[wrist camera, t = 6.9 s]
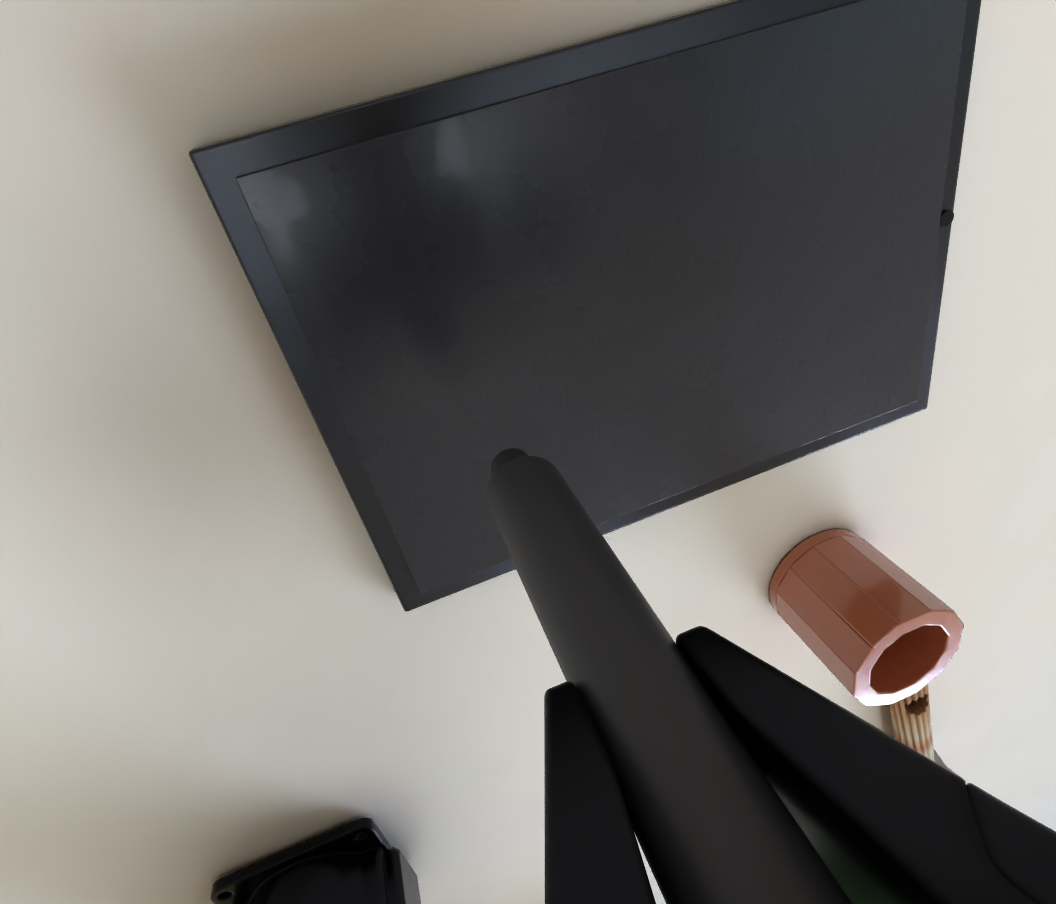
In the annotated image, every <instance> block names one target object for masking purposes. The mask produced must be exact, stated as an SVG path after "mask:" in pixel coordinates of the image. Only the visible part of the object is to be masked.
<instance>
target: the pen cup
mask: <svg viewBox="0 0 1056 904" xmlns="http://www.w3.org/2000/svg"><path fill="white" fill-rule="evenodd" d="M769 597H770V601H771V604H772V606H773V607H774V609H775V610H776V611H777V613H778V614H779V615H780V616H781V617H782V619H783V620H784V621H785V622H786V623H787V624H788V625H789V626H790V627H791V628H792V629H793V631H794V632H795V633H796V634H797V635H798V636H799V637H800V638H801V639H802V640H803V642H804V643H805V644H806V645H807V646H808V647H809V648H810V649H811V650H812V651H813V652H814V654H815V655H816V656H817V657H818V658H819V659H820V660H821V661H822V662H823V663H824V665H825V666H826V667H827V668H828V669H829V670H830V671H831V672H832V673H833V674H834V675H835V677H836V678H837V679H838V680H839V681H840V682H841V683H842V684H843V685H844V686H845V688H846V689H847V690H848V691H849V692H850V693H851V694H852V695H853V696H854V697H855V698H856V699H857V700H859V701H860V702H861V703H862V704H863V705H864V706H879V705H890V704H893V703H895V702H897V701H899V700H901V699H903V698H906V697H908V696H910V695H912V694H914V693H916V692H918V691H919V690H920V689H921V688H923V687H924V686H925V685H926V684H927V683H929V682H930V681H931V680H932V679H934V678H935V677H936V676H937V675H938V674H940V673H941V671H943V670H944V668H945V667H946V665H947V664H948V663H949V661H950V660H951V658H952V657H953V656H954V654H955V653H956V651H957V650H958V649H959V646H960V642H961V637H962V633H963V628H964V624H963V622H962V621H961V620H960V618H959V617H958V616H957V614H956V613H955V612H954V610H952V609H951V608H950V607H949V606H947V605H946V604H945V603H944V602H942V601H941V600H940V599H939V598H937V597H936V596H935V595H933V594H932V593H931V592H930V591H928V590H927V589H926V588H925V587H923V586H922V585H921V584H920V583H918V582H917V581H916V580H915V579H913V578H912V577H911V576H910V575H908V574H907V573H906V572H905V571H903V570H902V569H901V568H899V567H898V566H897V565H896V564H894V563H893V562H892V561H891V560H889V559H888V558H887V557H886V556H884V555H883V554H882V553H881V552H879V551H878V550H877V549H876V548H874V547H873V546H872V545H871V544H869V543H868V542H867V541H865V540H864V539H863V538H861V537H858V536H857V535H856V534H854V533H853V532H851V531H848V530H843V529H834V530H828V531H824V532H821V533H818V534H816V535H814V536H811V537H810V538H808V539H806V540H805V541H803V542H802V543H800V544H799V545H798V546H796V547H795V548H794V549H793V550H792V551H791V552H790V553H789V554H788V555H787V556H786V557H785V558H784V559H783V561H782V562H781V563H780V565H779V566H778V568H777V569H776V571H775V573H774V575H773V577H772V580H771V583H770V588H769Z"/></svg>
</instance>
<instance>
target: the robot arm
mask: <svg viewBox="0 0 1056 904" xmlns="http://www.w3.org/2000/svg"><path fill="white" fill-rule="evenodd" d="M676 645H677V647H678V648H679V649H680V651H681V652H682V654H683V655H684V657H685V658H686V660H687V661H688V663H689V664H690V666H691V667H692V669H693V670H694V672H695V673H696V675H697V676H698V677H699V679H700V680H701V682H702V683H703V685H704V686H705V688H706V689H707V691H708V692H709V694H710V695H711V697H712V698H713V700H714V701H715V703H716V704H717V705H718V707H719V708H720V710H721V711H722V713H723V714H724V716H725V717H726V719H727V720H728V722H729V723H730V725H731V726H732V727H733V729H734V730H735V732H736V733H737V735H738V736H739V738H740V739H741V741H742V742H743V744H744V745H745V746H746V748H747V749H748V751H749V752H750V754H751V755H752V757H753V758H754V760H755V761H756V763H757V764H758V766H759V767H760V769H761V770H762V772H763V773H764V774H765V776H766V777H767V779H768V780H769V782H770V783H771V785H772V786H773V788H774V789H775V791H776V792H777V794H778V795H779V797H780V798H781V800H782V801H783V802H784V804H785V805H786V807H787V808H788V810H789V811H790V813H791V814H792V816H793V817H794V819H795V820H796V822H797V823H798V825H799V826H800V827H801V829H802V830H803V832H804V833H805V835H806V836H807V838H808V839H809V841H810V842H811V844H812V845H813V847H814V848H815V850H816V851H817V853H818V854H819V855H820V857H821V858H822V860H823V861H824V863H825V864H826V866H827V867H828V869H829V870H830V872H831V873H832V875H833V876H834V878H835V879H836V881H837V882H838V883H839V885H840V886H841V888H842V889H843V891H844V892H845V894H846V895H847V897H848V898H849V900H850V901H851V903H852V904H1056V832H1055V831H1053V830H1052V829H1050V828H1048V827H1046V826H1045V825H1043V824H1041V823H1039V822H1037V821H1036V820H1034V819H1032V818H1030V817H1029V816H1027V815H1025V814H1023V813H1021V812H1020V811H1018V810H1016V809H1014V808H1013V807H1011V806H1009V805H1007V804H1006V803H1004V802H1002V801H1000V800H999V799H997V798H995V797H994V796H992V795H990V794H989V793H987V792H985V791H984V790H982V789H980V788H979V787H977V786H975V785H973V784H971V783H968V784H967V785H966V784H965V781H964V780H963V778H961V777H959V776H958V775H956V774H954V773H953V772H951V771H949V770H948V769H946V768H944V767H942V766H941V765H939V764H937V763H936V762H934V761H932V760H931V759H929V758H927V757H926V756H924V755H922V754H920V753H919V752H917V751H915V750H914V749H912V748H910V747H909V746H907V745H905V744H903V743H902V742H900V741H898V740H897V739H895V738H893V737H892V736H890V735H888V734H886V733H885V732H883V731H881V730H880V729H878V728H876V727H875V726H873V725H871V724H870V723H868V722H866V721H864V720H863V719H861V718H859V717H858V716H856V715H854V714H853V713H851V712H849V711H847V710H846V709H844V708H842V707H841V706H839V705H837V704H836V703H834V702H832V701H830V700H829V699H827V698H825V697H824V696H822V695H820V694H819V693H817V692H815V691H814V690H812V689H810V688H808V687H807V686H805V685H803V684H802V683H800V682H798V681H797V680H795V679H793V678H791V677H790V676H788V675H786V674H785V673H783V672H781V671H780V670H778V669H776V668H775V667H773V666H771V665H769V664H768V663H766V662H764V661H763V660H761V659H759V658H758V657H756V656H754V655H752V654H751V653H749V652H747V651H746V650H744V649H742V648H741V647H739V646H737V645H735V644H734V643H732V642H730V641H729V640H727V639H725V638H724V637H722V636H720V635H719V634H717V633H715V632H713V631H712V630H710V629H708V628H706V627H703V626H698V627H695V628H693V629H690V630H688V631H686V632H683V633H681V634H679V635H678V636H677V638H676ZM544 721H545V904H656V902H655V899H654V896H653V892H652V889H651V886H650V883H649V879H648V876H647V873H646V870H645V866H644V863H643V860H642V856H641V853H640V850H639V847H638V843H637V840H636V837H635V834H634V830H633V827H632V824H631V820H630V817H629V814H628V811H627V807H626V804H625V801H624V798H623V794H622V791H621V788H620V784H619V781H618V778H617V775H616V772H615V769H614V766H613V764H612V761H611V759H610V756H609V754H608V752H607V750H606V747H605V745H604V743H603V741H602V739H601V737H600V735H599V733H598V731H597V729H596V727H595V725H594V723H593V721H592V719H591V717H590V715H589V713H588V711H587V709H586V707H585V705H584V703H583V701H582V699H581V697H580V694H579V692H578V690H577V688H576V686H575V685H574V683H572V682H570V681H567V682H564V683H562V684H560V685H557V686H555V687H552V688H550V689H548V690H547V691H546V692H545V697H544ZM211 900H212V901H213V902H214V903H215V904H421V900H420V894H419V887H418V880H417V875H416V874H415V872H414V871H413V869H412V868H411V866H410V865H409V864H408V862H407V861H406V859H405V858H404V856H403V855H402V853H401V852H400V850H398V849H396V848H395V847H391V846H390V845H389V843H388V842H387V840H386V839H385V837H384V836H383V834H382V833H381V832H380V830H379V829H378V827H377V826H376V824H375V823H374V821H373V820H371V819H369V818H361V819H358V820H355V821H353V822H351V823H348V824H346V825H344V826H341V827H339V828H337V829H334V830H332V831H330V832H328V833H325V834H323V835H321V836H318V837H316V838H314V839H311V840H309V841H307V842H304V843H302V844H300V845H297V846H295V847H293V848H291V849H288V850H286V851H284V852H281V853H279V854H277V855H274V856H272V857H270V858H267V859H265V860H263V861H260V862H258V863H256V864H254V865H251V866H249V867H247V868H244V869H242V870H240V871H237V872H235V873H233V874H230V875H228V876H226V877H223V878H221V879H219V880H217V881H216V882H215V883H214V884H213V886H212V892H211Z"/></svg>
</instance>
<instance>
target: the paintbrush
mask: <svg viewBox="0 0 1056 904" xmlns="http://www.w3.org/2000/svg"><path fill="white" fill-rule="evenodd" d="M889 706H890V712H891V718H892V725H893V731H894V737H895V739H897V740H898V741H900V742H902V743H903V744H905V745H907V746H909V747H910V748H912V749H914V750H915V751H917V752H919V753H920V754H922V755H924V756H926V757H927V758H929V759H931V760H932V761H934V762H936V763H937V764H939V765H941V766H942V767H944V768H946V769H948V770H949V771H951V772H953V771H952V770H951V769H949V768H948V767H947V766H946V765H945V764H944V763H943V761H942V760H941V758H940V757H939V756H938V754H937V753H936V751H935V750H934V749H933V740H932V730H931V719H930V706H929V693H928V683H927V684H926V685H925V686H924V687H923V688H921V689H920V690H919V691H918V692H916V693H914V694H912V695H910V696H908V697H906V698H903V699H901V700H899V701H897V702H895V703H893V704H890V705H889ZM953 773H954V772H953ZM954 774H956V773H954ZM956 775H957V774H956ZM959 777H960V776H959ZM963 780H964V779H963ZM964 781H965V780H964ZM965 784H966V781H965Z"/></svg>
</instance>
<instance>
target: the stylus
mask: <svg viewBox="0 0 1056 904" xmlns="http://www.w3.org/2000/svg"><path fill="white" fill-rule="evenodd" d="M491 474H492V478H491V480H490V482H489V484H488V487H487V492H486V500H487V505H488V507H489V509H490V512H491V514H492V516H493V518H494V521H495V523H496V525H497V527H498V529H499V532H500V534H501V536H502V538H503V541H504V543H505V545H506V547H507V549H508V552H509V554H510V556H511V558H512V561H513V563H514V565H515V567H516V570H517V572H518V574H519V576H520V578H521V581H522V583H523V585H524V587H525V590H526V592H527V594H528V596H529V598H530V601H531V603H532V605H533V607H534V610H535V612H536V614H537V616H538V619H539V621H540V623H541V625H542V627H543V630H544V632H545V634H546V636H547V639H548V641H549V643H550V645H551V648H552V650H553V652H554V654H555V656H556V659H557V661H558V663H559V665H560V668H561V670H562V672H563V674H564V676H565V679H566V681H570V682H572V683H574V685H575V686H576V688H577V690H578V692H579V694H580V697H581V699H582V701H583V703H584V705H585V707H586V709H587V711H588V713H589V715H590V717H591V719H592V721H593V723H594V725H595V727H596V729H597V731H598V733H599V735H600V737H601V739H602V741H603V743H604V745H605V747H606V750H607V752H608V754H609V756H610V759H611V761H612V764H613V766H614V769H615V772H616V775H617V778H618V781H619V784H620V788H621V791H622V794H623V798H624V801H625V804H626V807H627V811H628V814H629V817H630V820H631V824H632V827H633V830H634V832H635V835H636V837H637V839H638V841H639V844H640V846H641V848H642V850H643V852H644V855H645V857H646V859H647V861H648V864H649V866H650V868H651V870H652V873H653V875H654V877H655V879H656V881H657V884H658V886H659V888H660V890H661V893H662V895H663V897H664V899H665V902H666V904H852V903H851V901H850V900H849V898H848V897H847V895H846V894H845V892H844V891H843V889H842V888H841V886H840V885H839V883H838V882H837V881H836V879H835V878H834V876H833V875H832V873H831V872H830V870H829V869H828V867H827V866H826V864H825V863H824V861H823V860H822V858H821V857H820V855H819V854H818V853H817V851H816V850H815V848H814V847H813V845H812V844H811V842H810V841H809V839H808V838H807V836H806V835H805V833H804V832H803V830H802V829H801V827H800V826H799V825H798V823H797V822H796V820H795V819H794V817H793V816H792V814H791V813H790V811H789V810H788V808H787V807H786V805H785V804H784V802H783V801H782V800H781V798H780V797H779V795H778V794H777V792H776V791H775V789H774V788H773V786H772V785H771V783H770V782H769V780H768V779H767V777H766V776H765V774H764V773H763V772H762V770H761V769H760V767H759V766H758V764H757V763H756V761H755V760H754V758H753V757H752V755H751V754H750V752H749V751H748V749H747V748H746V746H745V745H744V744H743V742H742V741H741V739H740V738H739V736H738V735H737V733H736V732H735V730H734V729H733V727H732V726H731V725H730V723H729V722H728V720H727V719H726V717H725V716H724V714H723V713H722V711H721V710H720V708H719V707H718V705H717V704H716V703H715V701H714V700H713V698H712V697H711V695H710V694H709V692H708V691H707V689H706V688H705V686H704V685H703V683H702V682H701V680H700V679H699V677H698V676H697V675H696V673H695V672H694V670H693V669H692V667H691V666H690V664H689V663H688V661H687V660H686V658H685V657H684V655H683V654H682V652H681V651H680V649H679V648H678V647H677V645H676V643H675V642H674V640H673V639H672V637H671V636H670V635H669V633H668V632H667V630H666V629H665V627H664V626H663V624H662V623H661V621H660V620H659V618H658V617H657V615H656V614H655V612H654V611H653V610H652V608H651V607H650V605H649V604H648V602H647V601H646V599H645V598H644V596H643V595H642V593H641V592H640V590H639V589H638V587H637V586H636V584H635V583H634V582H633V580H632V579H631V577H630V576H629V574H628V573H627V571H626V570H625V568H624V567H623V565H622V564H621V562H620V561H619V559H618V558H617V556H616V555H615V554H614V552H613V551H612V549H611V548H610V546H609V545H608V543H607V542H606V540H605V539H604V537H603V536H602V534H601V533H600V531H599V530H598V529H597V527H596V526H595V524H594V523H593V521H592V520H591V518H590V517H589V515H588V514H587V512H586V511H585V509H584V508H583V506H582V505H581V503H580V502H579V501H578V499H577V498H576V496H575V495H574V493H573V492H572V490H571V489H570V487H569V486H568V484H567V483H566V481H565V480H564V478H563V477H562V475H561V474H560V473H559V471H558V470H557V468H556V467H555V466H554V465H553V464H552V463H551V462H549V461H548V460H546V459H544V458H541V457H536V456H528V454H527V453H526V452H524V451H523V450H521V449H517V448H509V449H506V450H503V451H501V452H500V453H499V454H498V455H497V456H496V457H495V458H494V460H493V462H492V464H491Z"/></svg>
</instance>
